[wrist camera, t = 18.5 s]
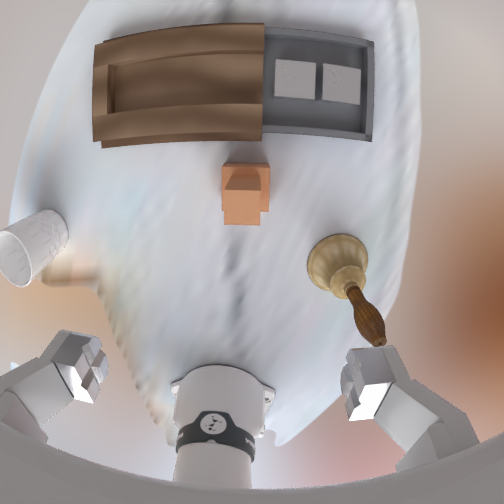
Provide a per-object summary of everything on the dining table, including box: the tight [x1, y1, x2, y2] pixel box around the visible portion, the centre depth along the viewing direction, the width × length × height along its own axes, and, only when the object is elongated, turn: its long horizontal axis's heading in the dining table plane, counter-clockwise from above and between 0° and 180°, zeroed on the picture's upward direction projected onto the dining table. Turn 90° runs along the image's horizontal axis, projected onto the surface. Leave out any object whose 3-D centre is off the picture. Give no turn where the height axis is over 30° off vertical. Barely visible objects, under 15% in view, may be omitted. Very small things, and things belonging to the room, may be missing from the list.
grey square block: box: [316, 63, 361, 106], centre depth 26 cm, size 4×4×3 cm
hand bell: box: [307, 234, 387, 347], centre depth 30 cm, size 8×8×16 cm
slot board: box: [92, 23, 264, 148], centre depth 27 cm, size 14×19×3 cm
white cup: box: [0, 209, 68, 287], centre depth 32 cm, size 8×8×10 cm
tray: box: [262, 27, 374, 142], centre depth 27 cm, size 12×12×2 cm
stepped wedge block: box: [222, 163, 270, 225], centre depth 29 cm, size 5×5×10 cm
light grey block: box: [273, 59, 316, 101], centre depth 26 cm, size 4×4×3 cm
